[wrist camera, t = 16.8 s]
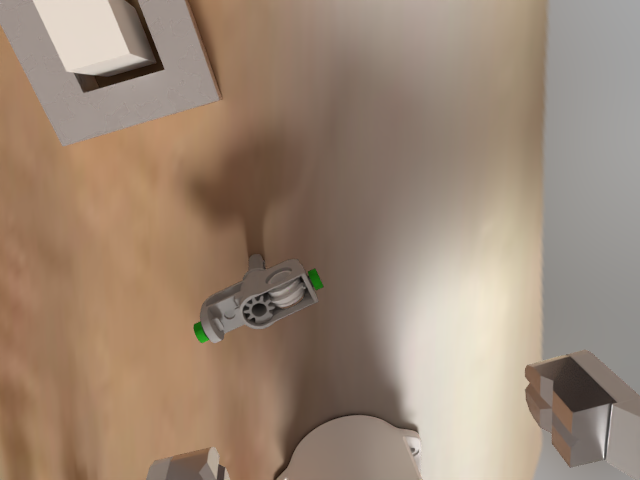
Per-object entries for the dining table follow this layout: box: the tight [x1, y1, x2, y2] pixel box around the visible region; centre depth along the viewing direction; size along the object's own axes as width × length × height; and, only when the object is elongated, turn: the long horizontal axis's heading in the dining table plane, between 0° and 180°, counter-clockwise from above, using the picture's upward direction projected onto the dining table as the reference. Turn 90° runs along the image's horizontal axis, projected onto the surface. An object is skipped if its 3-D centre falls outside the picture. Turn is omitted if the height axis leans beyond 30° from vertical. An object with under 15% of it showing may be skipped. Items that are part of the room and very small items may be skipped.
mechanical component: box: [194, 254, 323, 343], centre depth 35 cm, size 3×10×10 cm, turn 113°
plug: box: [33, 0, 157, 77], centre depth 28 cm, size 4×4×8 cm
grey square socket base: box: [0, 0, 222, 146], centre depth 30 cm, size 12×12×4 cm
